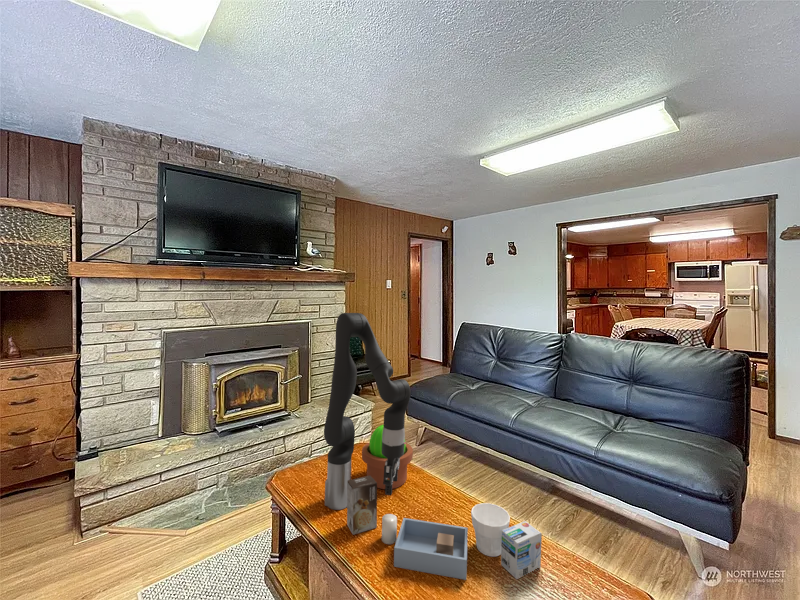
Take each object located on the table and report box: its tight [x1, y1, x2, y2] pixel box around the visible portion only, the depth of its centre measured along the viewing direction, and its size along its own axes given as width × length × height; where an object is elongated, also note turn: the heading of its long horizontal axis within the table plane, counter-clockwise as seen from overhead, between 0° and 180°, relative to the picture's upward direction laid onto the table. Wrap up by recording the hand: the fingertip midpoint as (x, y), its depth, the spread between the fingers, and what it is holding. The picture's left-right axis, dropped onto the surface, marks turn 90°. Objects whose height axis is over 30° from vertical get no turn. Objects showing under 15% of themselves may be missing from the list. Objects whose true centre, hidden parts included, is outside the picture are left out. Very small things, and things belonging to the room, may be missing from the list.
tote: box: [393, 517, 469, 581], centre depth 111 cm, size 22×15×6 cm
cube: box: [436, 533, 454, 556], centre depth 110 cm, size 5×5×5 cm
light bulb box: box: [500, 520, 543, 580], centre depth 107 cm, size 11×7×11 cm, turn 119°
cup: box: [470, 502, 511, 557], centre depth 115 cm, size 12×12×11 cm
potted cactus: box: [361, 423, 414, 490], centre depth 156 cm, size 22×22×25 cm
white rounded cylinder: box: [381, 513, 398, 545], centre depth 118 cm, size 5×5×7 cm
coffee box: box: [346, 475, 378, 535], centre depth 124 cm, size 9×6×16 cm
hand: (391, 487), depth 118 cm, fingers open, 8 cm apart
